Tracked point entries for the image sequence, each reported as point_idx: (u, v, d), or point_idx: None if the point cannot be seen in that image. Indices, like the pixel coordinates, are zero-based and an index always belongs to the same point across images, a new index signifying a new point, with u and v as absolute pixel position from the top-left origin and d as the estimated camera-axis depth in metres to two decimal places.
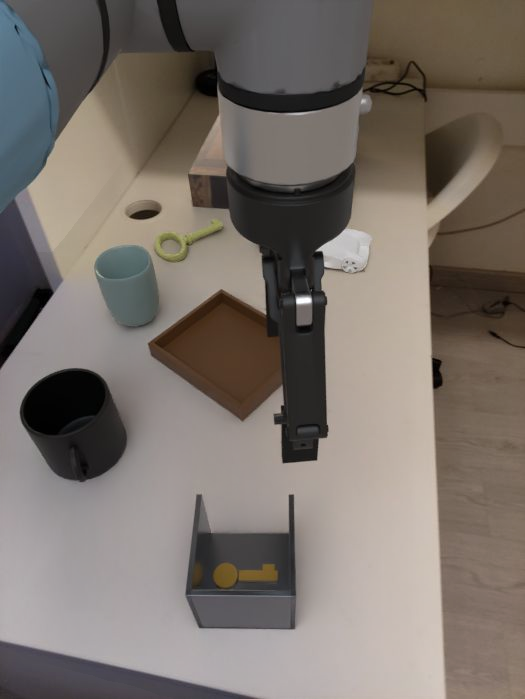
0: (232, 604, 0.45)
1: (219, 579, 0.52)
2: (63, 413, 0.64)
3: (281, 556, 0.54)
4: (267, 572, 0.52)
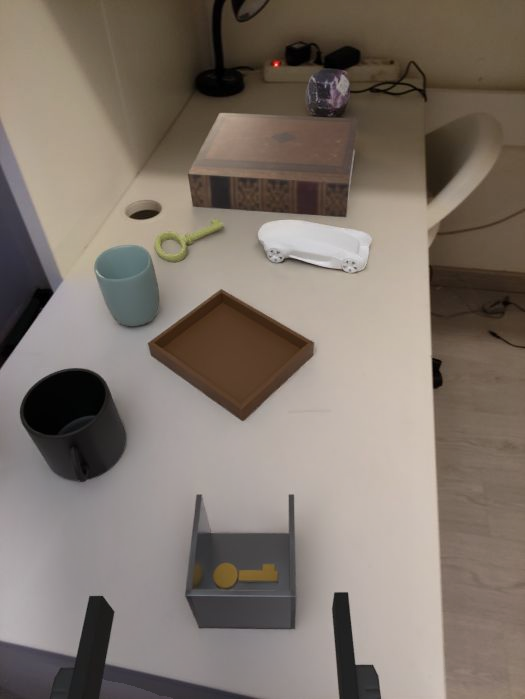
0: (232, 604, 0.45)
1: (219, 579, 0.52)
2: (63, 413, 0.64)
3: (281, 556, 0.54)
4: (267, 572, 0.52)
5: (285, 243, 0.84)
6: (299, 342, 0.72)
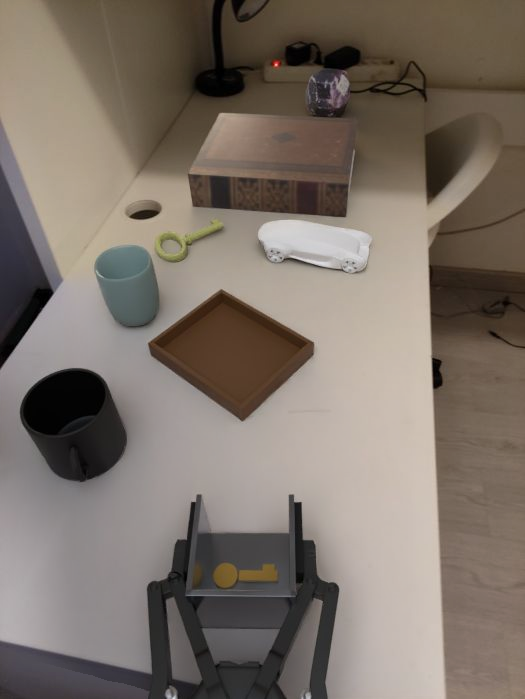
0: (232, 604, 0.45)
1: (219, 579, 0.52)
2: (63, 413, 0.64)
3: (281, 556, 0.54)
4: (267, 572, 0.52)
5: (285, 243, 0.84)
6: (299, 342, 0.72)
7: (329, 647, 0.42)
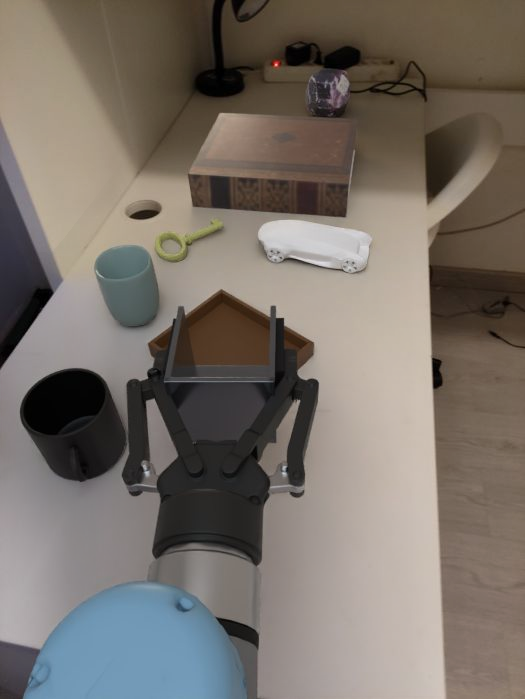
0: (211, 397, 0.45)
1: None
2: (63, 413, 0.64)
3: None
4: None
5: (285, 243, 0.84)
6: (299, 342, 0.72)
7: (307, 427, 0.42)
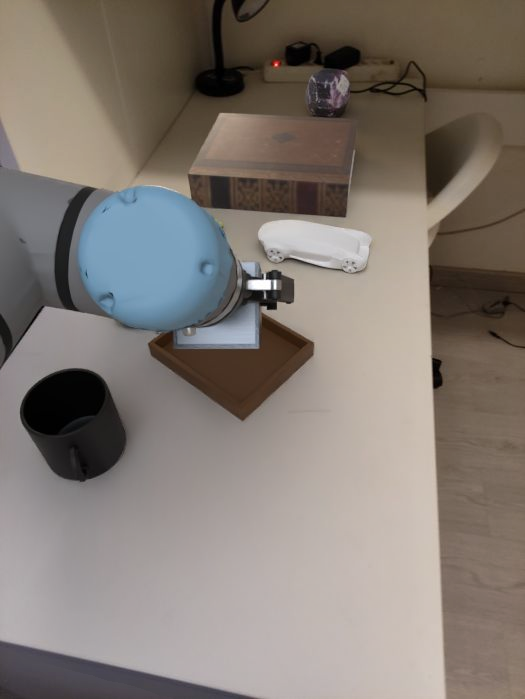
0: None
1: None
2: (63, 413, 0.64)
3: None
4: None
5: (285, 243, 0.84)
6: (299, 342, 0.72)
7: None
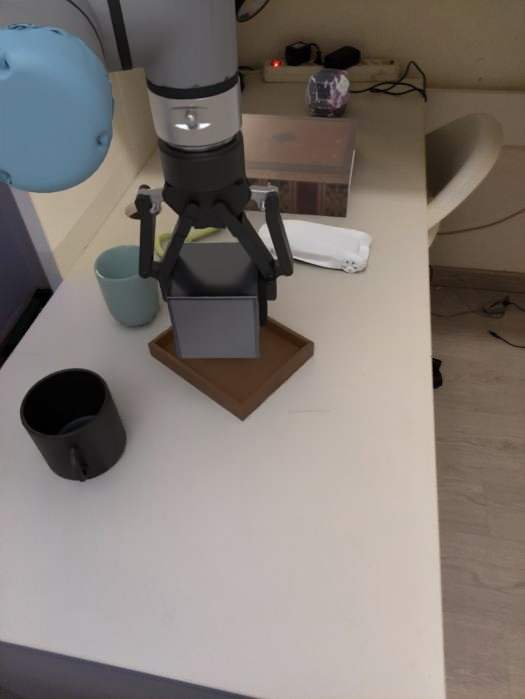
0: (209, 253, 0.57)
1: None
2: (63, 413, 0.64)
3: None
4: None
5: None
6: (299, 342, 0.72)
7: (282, 223, 0.55)
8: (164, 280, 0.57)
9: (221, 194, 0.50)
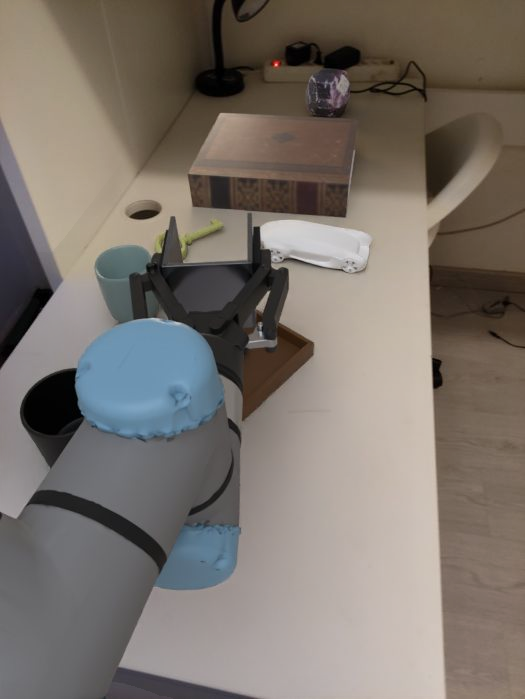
0: (201, 281, 0.55)
1: None
2: (63, 413, 0.64)
3: None
4: None
5: (285, 243, 0.84)
6: (299, 342, 0.72)
7: (278, 299, 0.52)
8: None
9: None
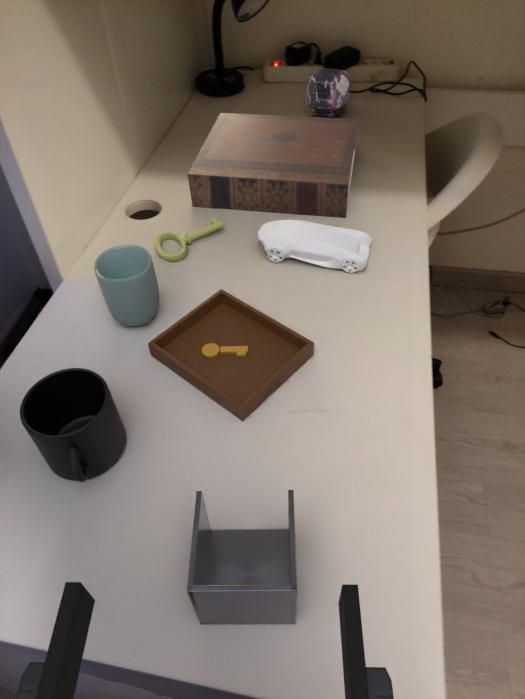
0: (233, 599, 0.45)
1: None
2: (63, 413, 0.64)
3: (281, 552, 0.54)
4: None
5: (285, 243, 0.84)
6: (299, 342, 0.72)
7: None
8: None
9: None
